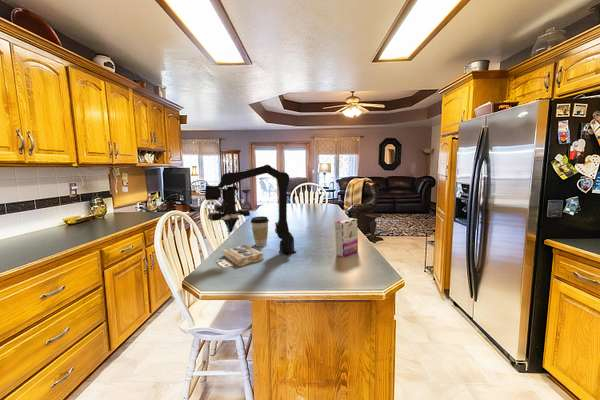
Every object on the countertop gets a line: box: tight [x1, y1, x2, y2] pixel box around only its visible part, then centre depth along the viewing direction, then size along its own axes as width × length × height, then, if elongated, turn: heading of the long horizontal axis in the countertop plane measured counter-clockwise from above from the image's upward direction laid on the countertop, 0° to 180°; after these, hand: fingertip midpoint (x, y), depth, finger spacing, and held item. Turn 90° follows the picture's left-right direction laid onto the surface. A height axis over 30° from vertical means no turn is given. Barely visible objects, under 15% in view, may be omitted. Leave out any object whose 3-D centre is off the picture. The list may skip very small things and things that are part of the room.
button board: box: [222, 244, 264, 267], centre depth 129 cm, size 12×18×3 cm, turn 38°
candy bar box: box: [334, 217, 359, 258], centre depth 129 cm, size 11×5×16 cm, turn 131°
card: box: [217, 258, 234, 269], centre depth 122 cm, size 4×10×1 cm, turn 38°
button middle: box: [239, 248, 246, 254], centre depth 128 cm, size 3×3×2 cm
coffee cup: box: [250, 215, 270, 247], centre depth 148 cm, size 10×10×15 cm
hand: (230, 232), depth 128 cm, fingers closed
